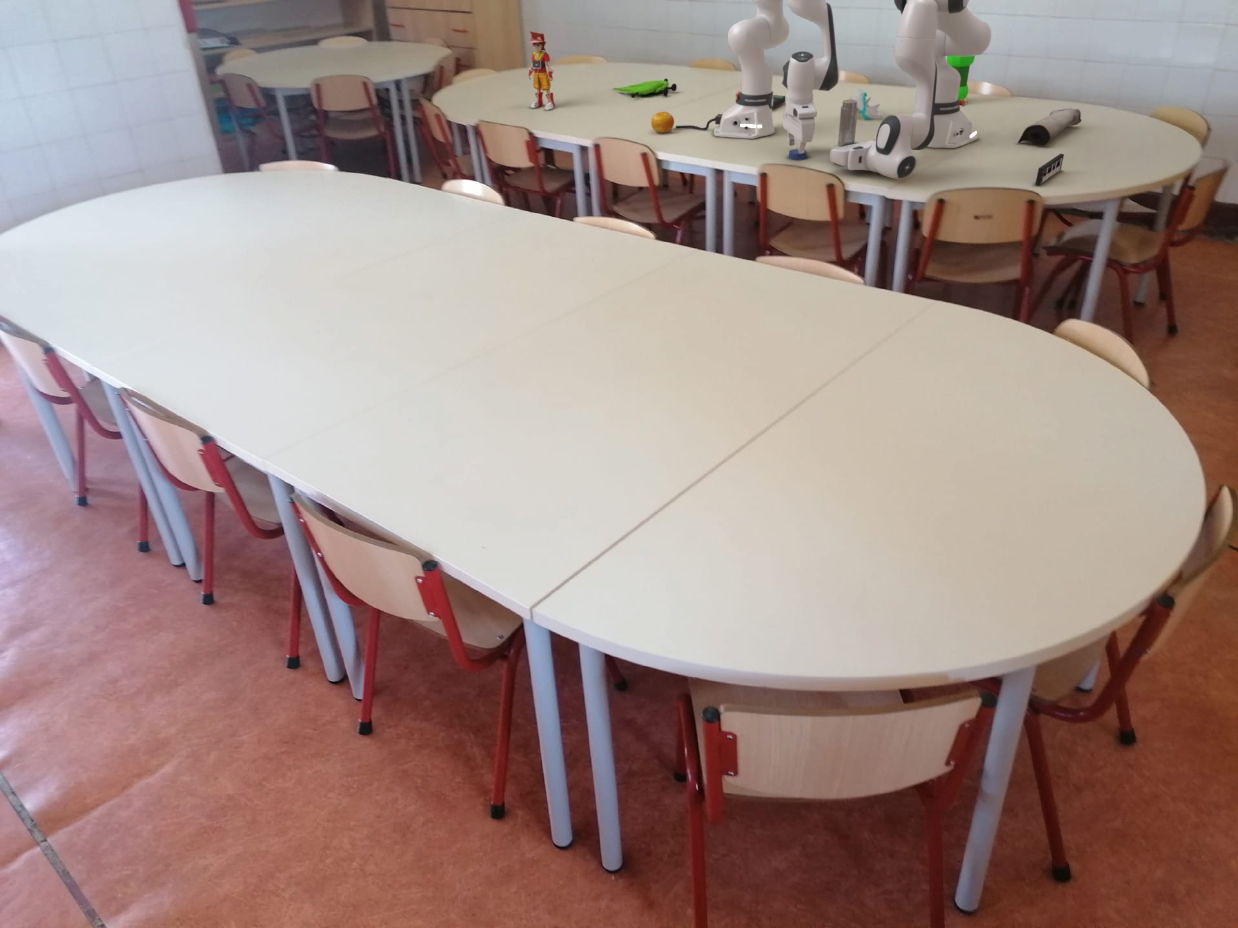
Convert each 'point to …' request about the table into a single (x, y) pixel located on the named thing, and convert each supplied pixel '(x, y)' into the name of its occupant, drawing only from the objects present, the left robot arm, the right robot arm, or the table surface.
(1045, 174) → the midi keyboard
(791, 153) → the lid
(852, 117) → the jar
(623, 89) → the toy
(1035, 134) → the rolled mat
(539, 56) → the toy
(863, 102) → the anatomical model
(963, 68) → the green dumbbell
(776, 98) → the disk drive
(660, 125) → the fruit
